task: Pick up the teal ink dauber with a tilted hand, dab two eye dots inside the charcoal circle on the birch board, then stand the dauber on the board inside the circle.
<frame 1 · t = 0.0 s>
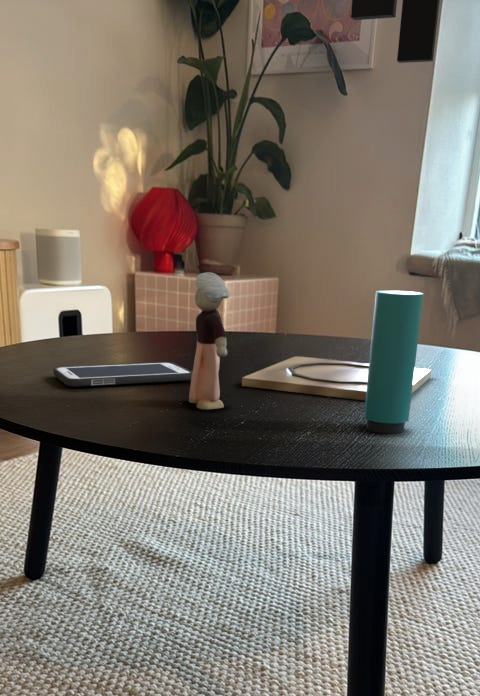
hand: (396, 42, 54), 29 cm above the table, tool pointing down, fingers open, 13 cm apart
board: (340, 381, 89), on the table
grandmother figurine: (207, 407, 75), on the table
cell phone: (123, 380, 86), on the table
dauber: (385, 429, 69), on the table
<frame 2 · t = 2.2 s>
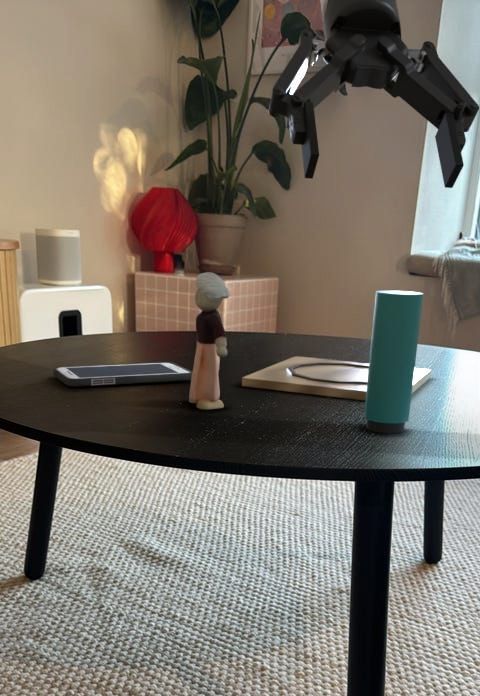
hand: (384, 172, 69), 22 cm above the table, tool tilted 45°, fingers open, 13 cm apart
nothing on the table moved.
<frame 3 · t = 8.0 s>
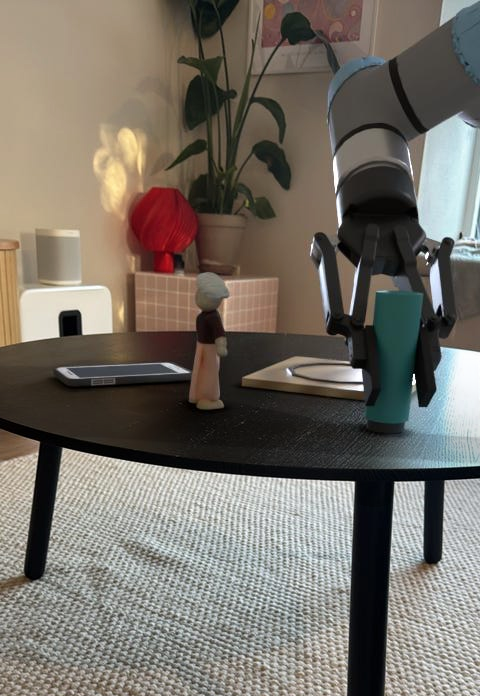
hand: (400, 397, 64), 4 cm above the table, tool tilted 45°, fingers closed on dauber, 4 cm apart
dauber: (385, 429, 69), on the table, touching gripper
everything else where it was.
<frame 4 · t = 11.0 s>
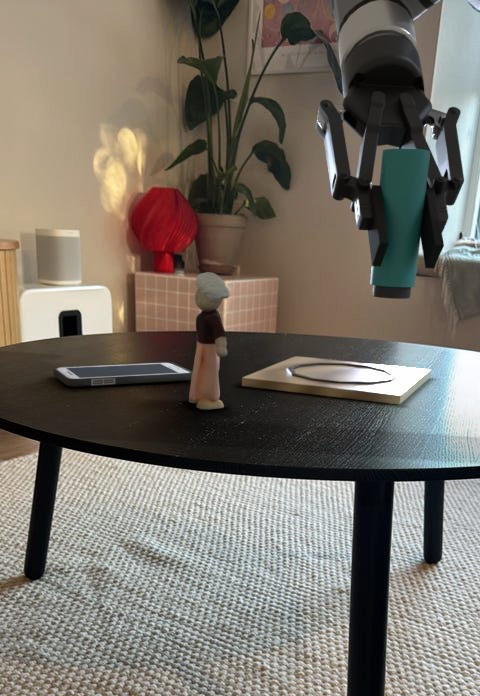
hand: (407, 255, 64), 15 cm above the table, tool tilted 45°, fingers closed on dauber, 4 cm apart
dauber: (391, 296, 68), point 11 cm above the table, touching gripper
everything else where it was.
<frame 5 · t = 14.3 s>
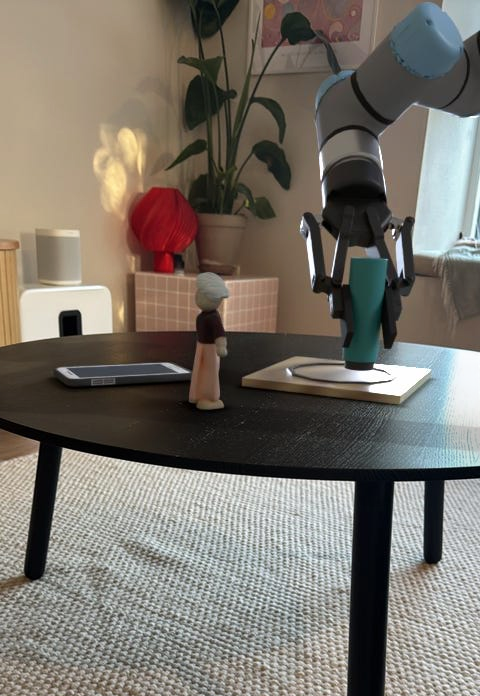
hand: (369, 340, 82), 6 cm above the table, tool tilted 45°, fingers closed on dauber, 4 cm apart
dauber: (358, 368, 87), point 2 cm above the table, touching gripper
everything else where it was.
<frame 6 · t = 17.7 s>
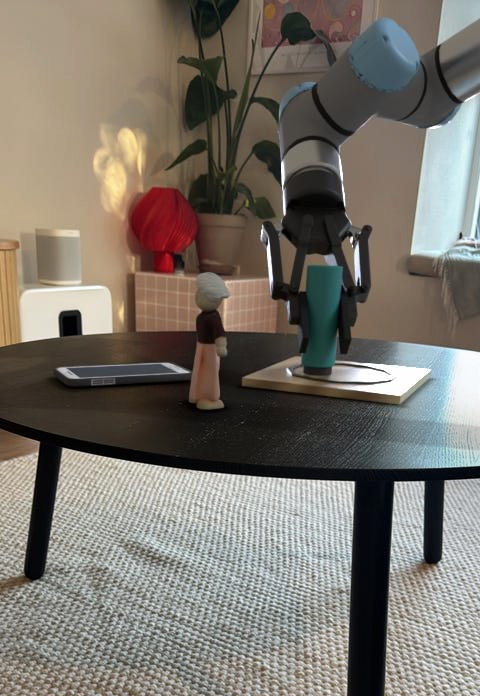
hand: (325, 346, 84), 5 cm above the table, tool tilted 45°, fingers closed on dauber, 4 cm apart
dauber: (317, 372, 89), point 1 cm above the table, touching board, gripper
everything else where it was.
when the fingers open (5 cm above the table, at t = 20.6 s): dauber stays where it is, resting on board.
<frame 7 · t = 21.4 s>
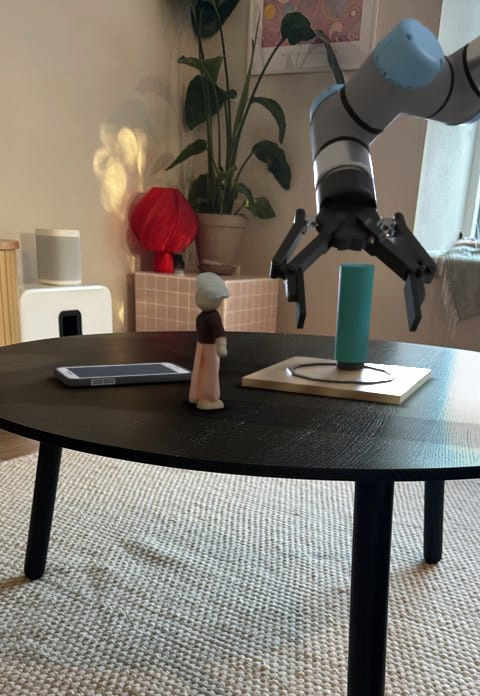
hand: (358, 323, 88), 7 cm above the table, tool tilted 45°, fingers open, 13 cm apart
dauber: (350, 367, 93), point 1 cm above the table, touching board
everything else where it was.
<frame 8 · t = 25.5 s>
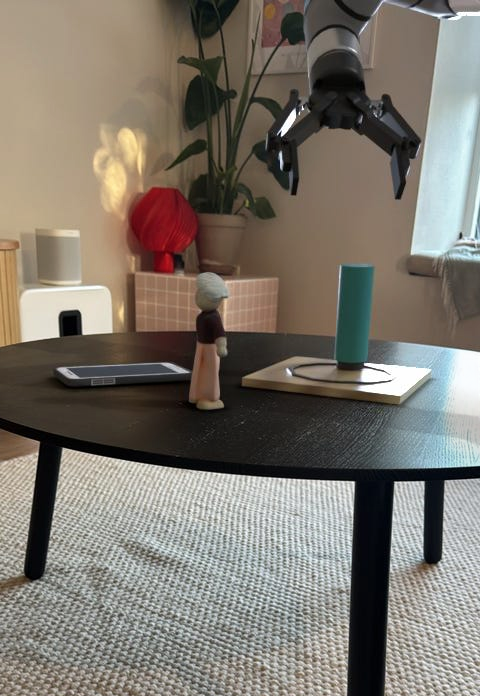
hand: (347, 189, 95), 22 cm above the table, tool tilted 45°, fingers open, 13 cm apart
nothing on the table moved.
at the end: dauber 0.1 cm from the target spot on the board, point 1.1 cm above the board's base; dauber tilted 3°; the gripper is holding nothing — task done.
